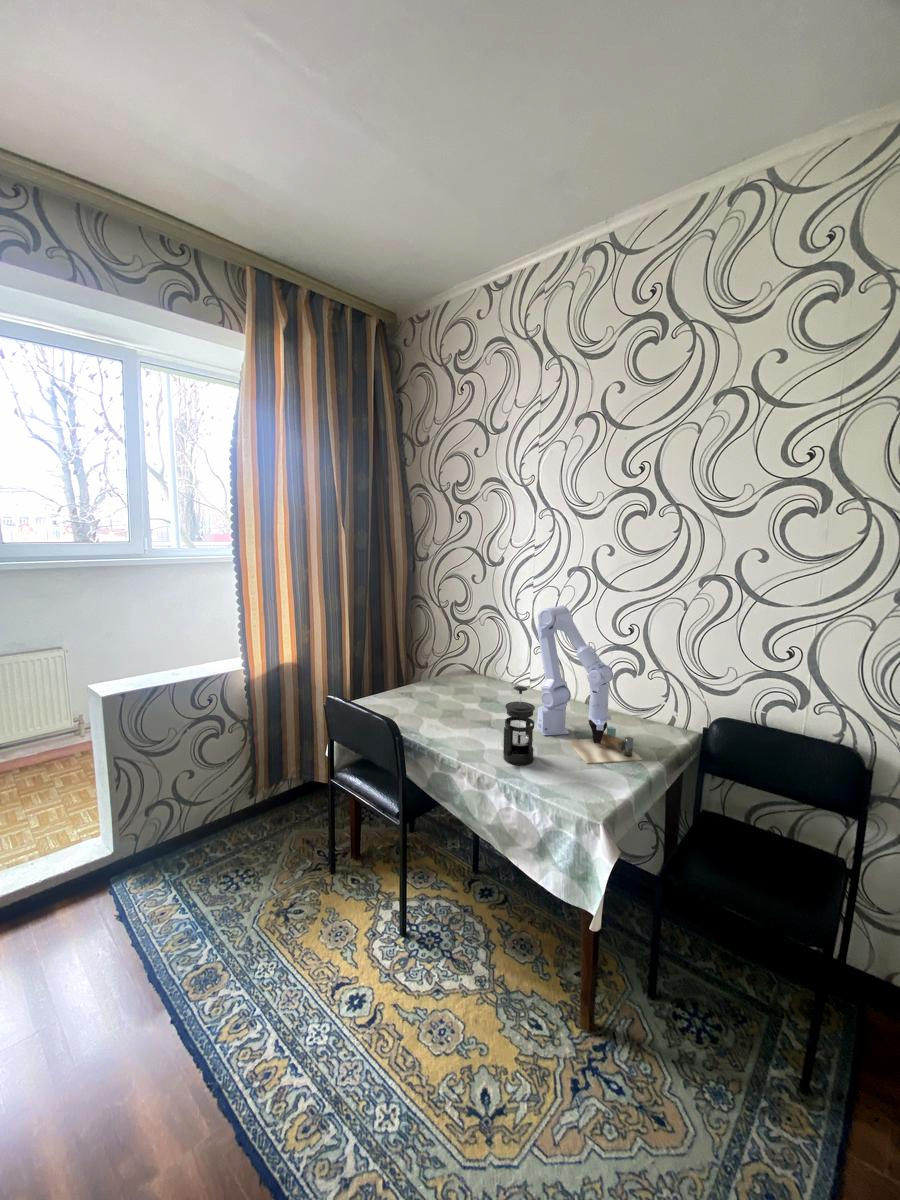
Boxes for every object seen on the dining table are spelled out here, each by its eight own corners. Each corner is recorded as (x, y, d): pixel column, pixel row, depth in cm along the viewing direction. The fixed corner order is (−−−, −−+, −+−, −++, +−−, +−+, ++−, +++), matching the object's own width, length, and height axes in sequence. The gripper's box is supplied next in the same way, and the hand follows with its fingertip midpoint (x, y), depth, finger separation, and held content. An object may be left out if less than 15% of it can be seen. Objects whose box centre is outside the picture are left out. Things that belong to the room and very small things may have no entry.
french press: (517, 748, 159) (519, 680, 156) (541, 758, 152) (544, 687, 149) (493, 759, 151) (495, 688, 148) (517, 770, 144) (519, 696, 141)
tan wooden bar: (624, 750, 156) (625, 739, 155) (620, 752, 155) (621, 741, 154) (596, 738, 164) (596, 728, 164) (592, 740, 163) (593, 729, 163)
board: (586, 764, 149) (586, 762, 149) (566, 741, 164) (566, 740, 164) (642, 760, 151) (642, 759, 151) (617, 738, 167) (617, 737, 167)
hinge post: (626, 758, 152) (627, 740, 151) (622, 754, 155) (623, 737, 154) (633, 758, 153) (634, 739, 152) (629, 754, 155) (630, 736, 154)
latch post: (610, 742, 164) (610, 729, 163) (606, 739, 166) (607, 727, 165) (615, 741, 164) (615, 728, 164) (611, 739, 166) (612, 726, 166)
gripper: (614, 712, 150) (612, 753, 152) (609, 696, 164) (607, 734, 166) (590, 710, 152) (588, 751, 154) (587, 694, 166) (585, 732, 168)
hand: (596, 742), depth 160 cm, fingers closed
